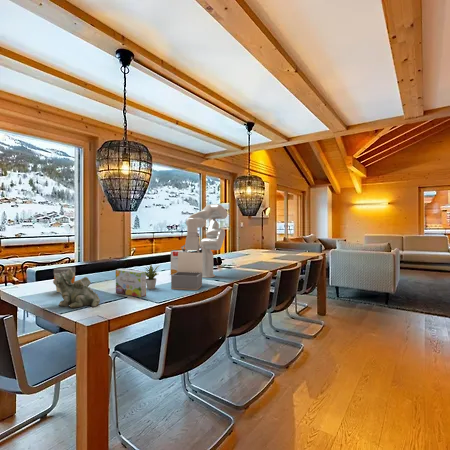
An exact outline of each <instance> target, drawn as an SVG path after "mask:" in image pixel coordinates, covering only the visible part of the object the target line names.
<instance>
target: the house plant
mask: <svg viewBox="0 0 450 450" xmlns="http://www.w3.org/2000/svg"><path fill="white" fill-rule="evenodd" d="M160 266H162V265H156V266H155V267H154V266H153V265H152V264H151V265H149V267H148V266H147V265H146V267H144V266H143V268H144V269H145V271H146V290H147V289H148V290H153V289H155V288H156V283H157V278H156V276H158V275H159V272H157V271H158V269H159V267H160Z"/></svg>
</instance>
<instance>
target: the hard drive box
mask: <svg viewBox="0 0 450 450" xmlns="http://www.w3.org/2000/svg"><path fill="white" fill-rule="evenodd" d="M178 252H183V250H170V275H173V274H175V273H177V272H178ZM187 252H188V253H191V250H188V251H187Z"/></svg>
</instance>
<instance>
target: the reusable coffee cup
mask: <svg viewBox="0 0 450 450" xmlns="http://www.w3.org/2000/svg"><path fill="white" fill-rule="evenodd" d="M69 268H71V270H72V271H73V278H72V280H71V283H72V284H74V281H76V266H59V267H54V268H53V276H54V277H53V280H55V275H54V274H55V273H56V274H57V273H59V274H60V273H61V272H62V273H63V272H67V271H68V270H69ZM55 289H56V293H57V292H61V291H60V289H59V288H58V287H57V286H56V285H55Z"/></svg>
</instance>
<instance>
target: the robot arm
mask: <svg viewBox="0 0 450 450" xmlns="http://www.w3.org/2000/svg"><path fill="white" fill-rule="evenodd" d="M227 211H228V210H227V209H226V208H224V206H222V205H221V204H216V203H212V204H211V203H210V204H207V205H206V206H204V207H203V209H201V211H200V210H199V211H198V212H195V213H193V214H190V215H189V216H188V218H187V219H186V222H185V223H186V224H185V225H186V229H187V231H186V232H187V233H186V237H185V244H184V245H182V246H181V247H180V249H181V251H183V252H187V251H196V253H203V264H202V279H207V278H208V279H209V278H215V277H216V274H214V254H213V251H219V250H221V248H222V247H223V243H224V241H225V236H226V231H225V229H224V228H222V227H220V224H219V222H218V221H217V220H225V219H227V217H228V212H227ZM206 221H208V222H209V224H208V227H207V230H206V232H205V237H204V238H202V239H201V240H200V233H199V229H203V228H204V227H205V225H206Z"/></svg>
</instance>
